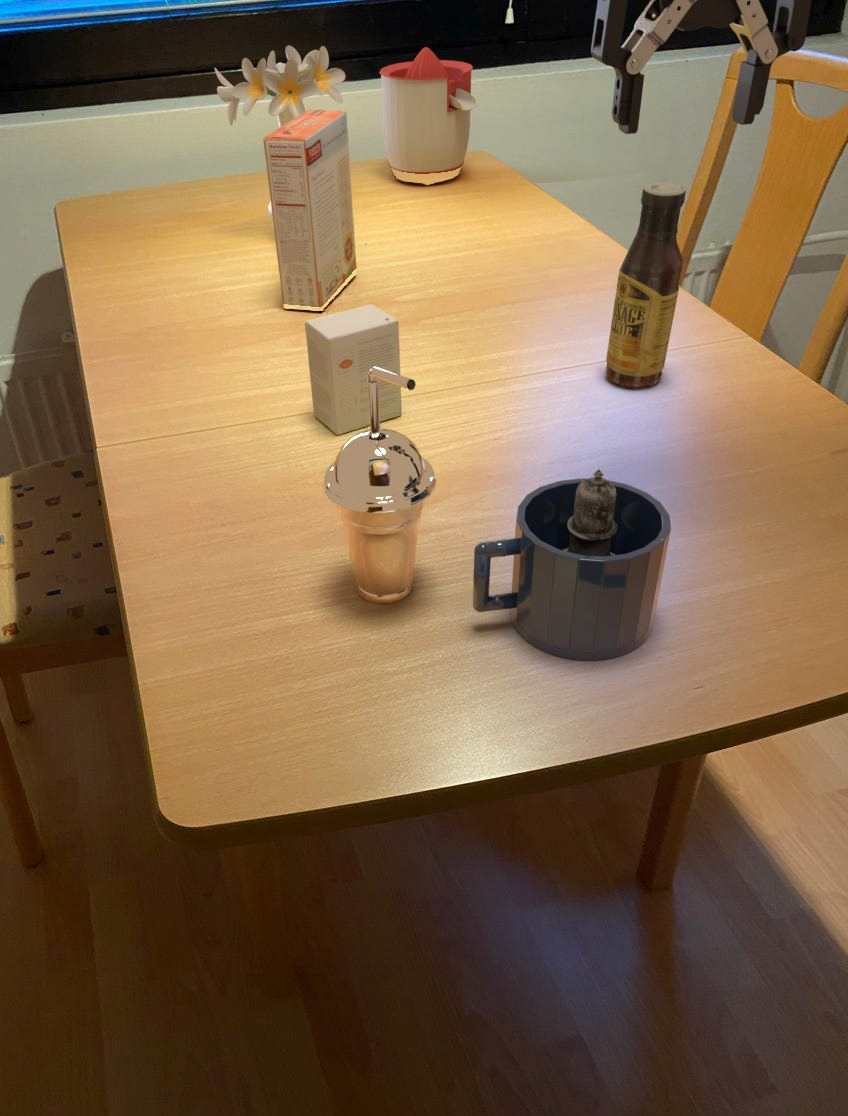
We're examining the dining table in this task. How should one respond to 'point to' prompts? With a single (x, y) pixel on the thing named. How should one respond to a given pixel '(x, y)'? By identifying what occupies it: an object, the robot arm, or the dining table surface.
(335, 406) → the small box
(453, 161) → the citrus juicer
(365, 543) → the cup with straw
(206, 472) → the dining table surface
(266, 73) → the flower vase
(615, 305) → the sauce bottle
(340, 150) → the cracker box
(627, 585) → the mug
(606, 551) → the salt shaker
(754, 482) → the dining table surface
